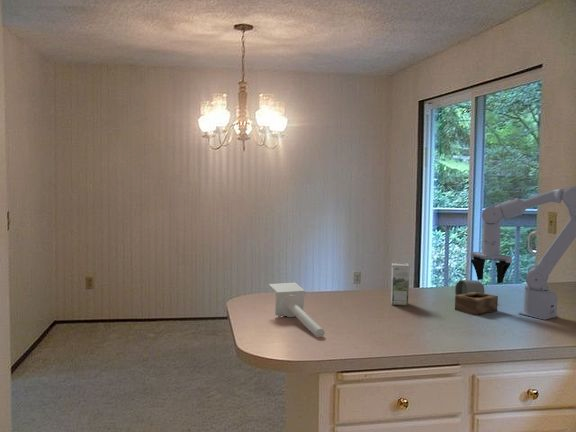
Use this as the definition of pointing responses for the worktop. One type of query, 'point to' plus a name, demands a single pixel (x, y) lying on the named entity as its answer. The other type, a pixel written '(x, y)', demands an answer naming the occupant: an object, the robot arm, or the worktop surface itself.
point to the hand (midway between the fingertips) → (489, 281)
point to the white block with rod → (294, 305)
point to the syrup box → (399, 284)
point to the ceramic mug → (468, 287)
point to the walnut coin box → (476, 303)
